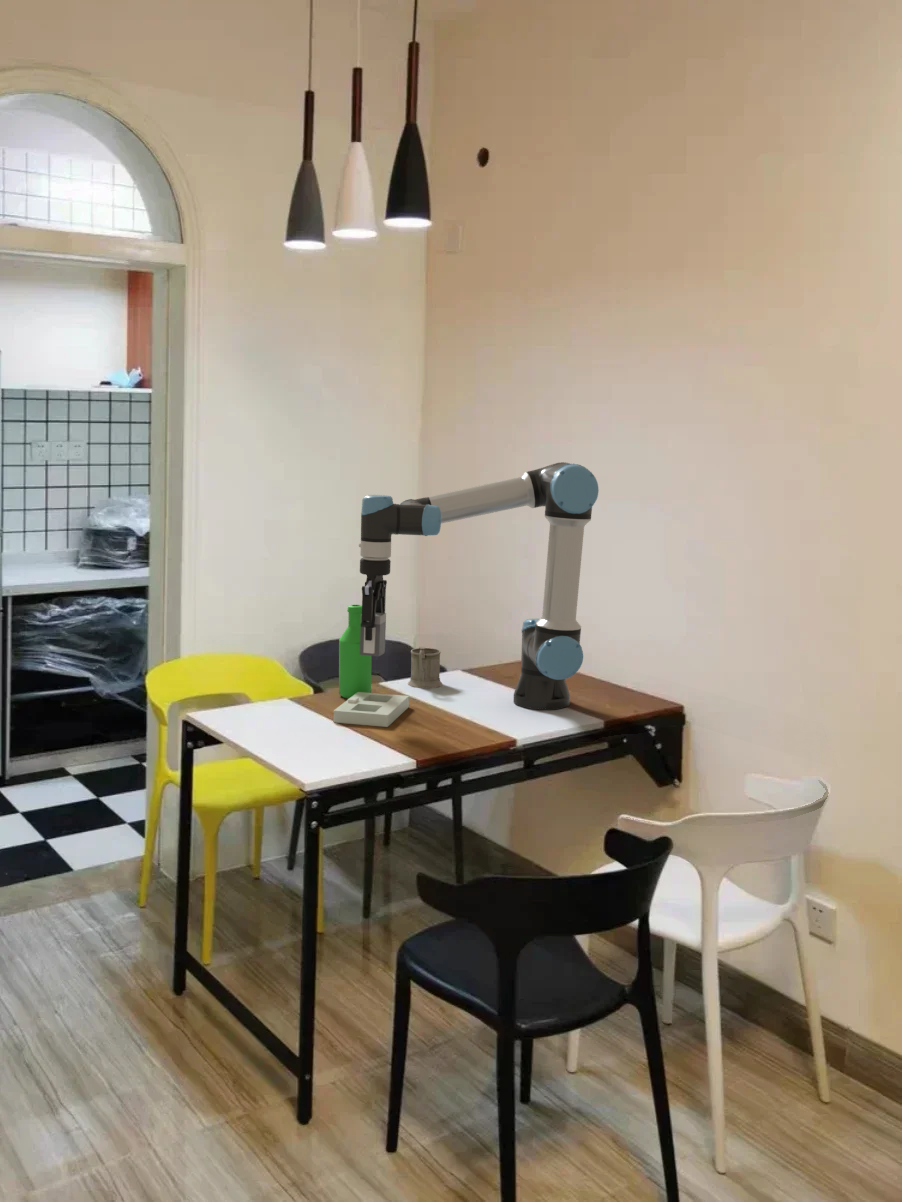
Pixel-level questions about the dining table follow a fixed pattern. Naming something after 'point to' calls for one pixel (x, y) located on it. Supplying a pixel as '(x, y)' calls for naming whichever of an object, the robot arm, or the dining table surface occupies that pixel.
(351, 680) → the bottle
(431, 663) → the mug
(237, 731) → the dining table surface
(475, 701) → the dining table surface
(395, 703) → the socket plate
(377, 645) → the plug
